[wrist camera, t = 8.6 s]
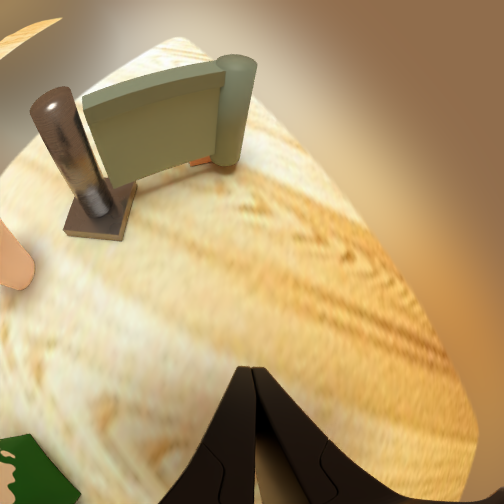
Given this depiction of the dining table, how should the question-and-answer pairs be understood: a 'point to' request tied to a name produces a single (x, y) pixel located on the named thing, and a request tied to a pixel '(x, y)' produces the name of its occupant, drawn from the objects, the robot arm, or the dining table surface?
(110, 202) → the hinge post
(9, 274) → the smoothie
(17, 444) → the milk carton
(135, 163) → the gate
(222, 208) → the dining table surface
